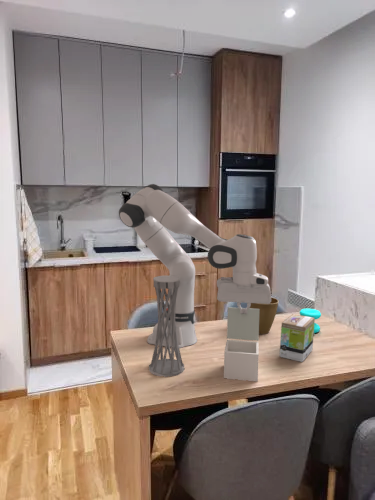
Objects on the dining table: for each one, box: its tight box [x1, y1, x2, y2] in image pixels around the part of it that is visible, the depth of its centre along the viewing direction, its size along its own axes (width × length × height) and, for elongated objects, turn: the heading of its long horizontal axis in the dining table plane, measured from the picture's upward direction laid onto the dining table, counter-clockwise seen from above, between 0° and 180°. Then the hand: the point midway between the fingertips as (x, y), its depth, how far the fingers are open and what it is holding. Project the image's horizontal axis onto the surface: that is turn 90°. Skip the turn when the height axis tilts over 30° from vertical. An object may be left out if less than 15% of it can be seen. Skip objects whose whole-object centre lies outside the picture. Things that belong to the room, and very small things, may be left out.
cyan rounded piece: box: [299, 308, 322, 334], centre depth 187 cm, size 10×10×10 cm
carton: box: [223, 339, 260, 382], centre depth 141 cm, size 12×12×10 cm
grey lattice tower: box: [148, 275, 185, 378], centre depth 143 cm, size 14×13×35 cm
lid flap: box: [226, 306, 260, 342], centre depth 146 cm, size 12×12×1 cm
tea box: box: [279, 313, 316, 363], centre depth 159 cm, size 15×10×15 cm, turn 148°
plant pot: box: [250, 296, 279, 335], centre depth 184 cm, size 15×15×16 cm
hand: (243, 313), depth 145 cm, fingers closed, pressing on lid flap
